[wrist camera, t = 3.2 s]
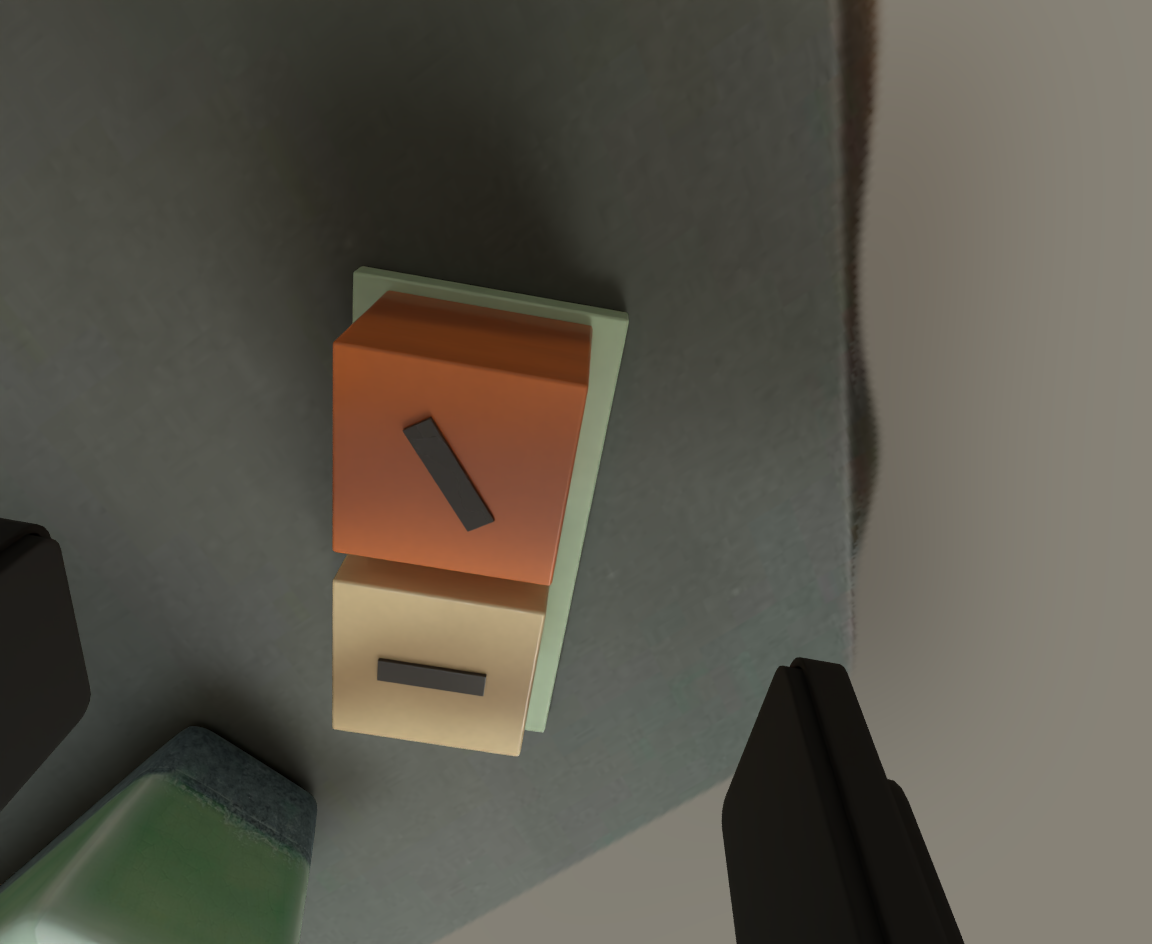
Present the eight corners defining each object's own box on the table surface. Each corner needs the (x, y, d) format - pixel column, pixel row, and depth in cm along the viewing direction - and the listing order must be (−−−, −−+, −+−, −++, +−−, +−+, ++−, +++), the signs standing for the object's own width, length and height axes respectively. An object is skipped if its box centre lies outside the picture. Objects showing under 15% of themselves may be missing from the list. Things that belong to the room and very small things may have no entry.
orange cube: (387, 288, 15) (328, 342, 12) (593, 325, 16) (588, 387, 12) (380, 469, 18) (329, 555, 14) (561, 500, 18) (550, 591, 15)
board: (360, 264, 16) (352, 271, 15) (629, 312, 16) (629, 320, 16) (352, 689, 22) (346, 703, 22) (545, 718, 22) (544, 733, 22)
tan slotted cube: (379, 494, 18) (329, 582, 15) (557, 523, 18) (545, 617, 15) (374, 630, 20) (329, 733, 17) (533, 655, 20) (518, 761, 17)
